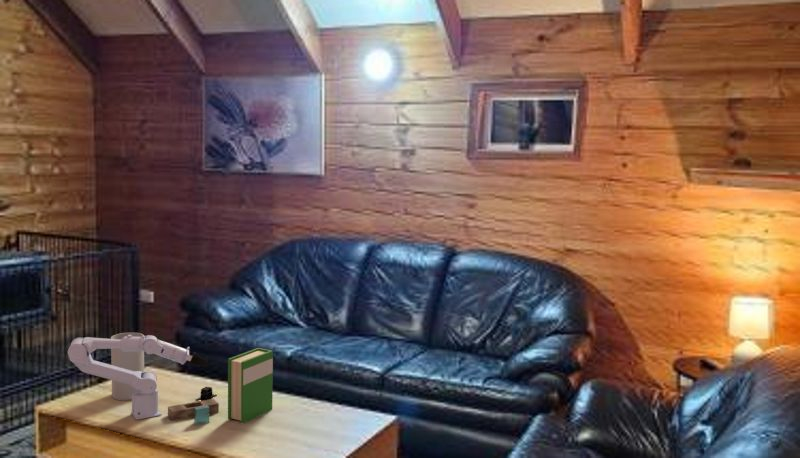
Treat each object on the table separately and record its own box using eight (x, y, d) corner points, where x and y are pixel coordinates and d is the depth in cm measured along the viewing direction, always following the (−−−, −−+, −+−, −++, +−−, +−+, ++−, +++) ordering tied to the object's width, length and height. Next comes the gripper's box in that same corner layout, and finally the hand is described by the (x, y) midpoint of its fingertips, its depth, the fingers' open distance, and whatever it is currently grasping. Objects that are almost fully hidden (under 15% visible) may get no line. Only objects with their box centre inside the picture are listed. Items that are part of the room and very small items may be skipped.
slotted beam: (172, 420, 271) (172, 411, 270) (167, 415, 276) (167, 406, 275) (218, 412, 280) (218, 403, 280) (213, 407, 285) (213, 398, 285)
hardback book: (242, 423, 270) (243, 362, 267) (227, 419, 273) (228, 358, 270) (272, 409, 285) (272, 350, 282) (257, 405, 289) (258, 347, 286)
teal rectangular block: (196, 425, 267) (196, 409, 267) (194, 422, 269) (194, 407, 269) (209, 422, 270) (209, 407, 269) (207, 420, 272) (207, 405, 271)
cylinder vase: (111, 392, 298) (110, 334, 295) (142, 388, 303) (142, 331, 300) (112, 402, 287) (111, 342, 284) (145, 398, 292) (145, 339, 289)
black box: (204, 405, 289) (204, 394, 288) (189, 402, 291) (189, 391, 291) (222, 395, 300) (222, 384, 300) (207, 392, 303) (207, 382, 302)
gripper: (179, 343, 271) (213, 355, 275) (174, 342, 284) (207, 354, 289) (172, 360, 269) (206, 372, 274) (167, 359, 282) (200, 370, 287)
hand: (206, 364), depth 281 cm, fingers open, 7 cm apart
